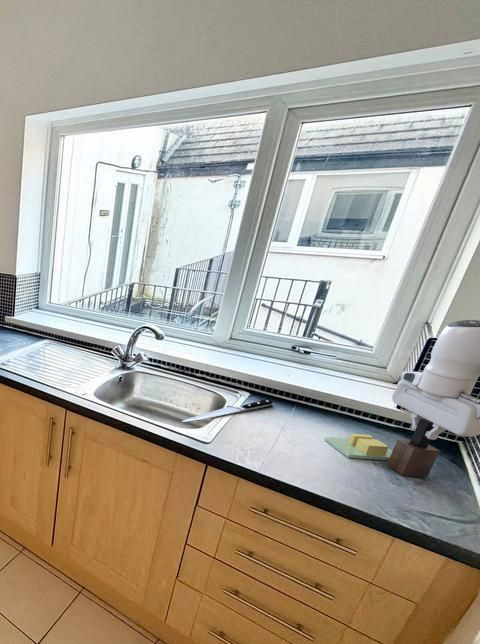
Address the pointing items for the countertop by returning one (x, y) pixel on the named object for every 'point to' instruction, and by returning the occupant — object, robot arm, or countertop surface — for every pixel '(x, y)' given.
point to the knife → (421, 433)
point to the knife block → (412, 459)
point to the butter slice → (355, 438)
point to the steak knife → (233, 410)
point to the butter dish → (353, 449)
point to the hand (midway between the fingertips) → (422, 434)
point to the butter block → (371, 447)
